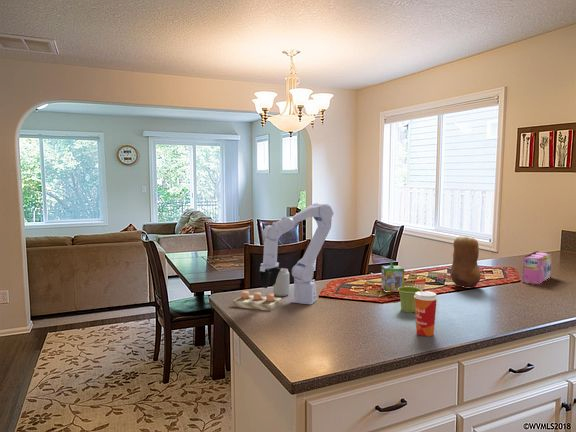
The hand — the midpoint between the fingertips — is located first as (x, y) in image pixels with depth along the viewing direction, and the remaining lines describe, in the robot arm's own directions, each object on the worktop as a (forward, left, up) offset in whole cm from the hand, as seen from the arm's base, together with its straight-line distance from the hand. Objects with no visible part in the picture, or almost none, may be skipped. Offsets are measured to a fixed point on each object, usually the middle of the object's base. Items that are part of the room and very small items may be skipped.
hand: (268, 286), depth 178 cm
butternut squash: (-77, -63, -9) cm, 100 cm away
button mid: (+5, 0, -6) cm, 8 cm away
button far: (+11, 0, -6) cm, 13 cm away
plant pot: (-56, -15, -9) cm, 58 cm away
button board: (+5, 0, -9) cm, 10 cm away
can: (+2, -19, -9) cm, 21 cm away
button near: (-1, 0, -6) cm, 6 cm away
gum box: (-112, -92, -9) cm, 145 cm away
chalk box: (-45, -44, -9) cm, 63 cm away
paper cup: (-64, +10, -9) cm, 65 cm away
